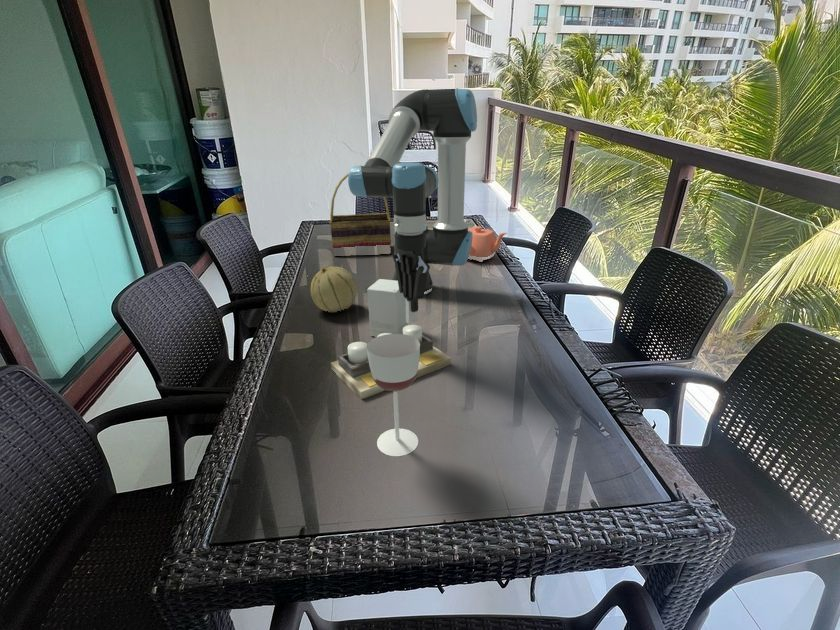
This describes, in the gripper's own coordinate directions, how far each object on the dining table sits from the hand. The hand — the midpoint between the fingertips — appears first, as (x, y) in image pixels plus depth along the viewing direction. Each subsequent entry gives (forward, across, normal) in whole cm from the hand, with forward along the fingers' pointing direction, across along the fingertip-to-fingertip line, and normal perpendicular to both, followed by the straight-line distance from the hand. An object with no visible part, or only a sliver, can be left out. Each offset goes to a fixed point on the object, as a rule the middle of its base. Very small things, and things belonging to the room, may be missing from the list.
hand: (411, 321), depth 119 cm
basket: (+9, -91, +34) cm, 98 cm away
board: (+10, +2, -8) cm, 13 cm away
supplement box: (+10, -15, +2) cm, 18 cm away
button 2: (+6, 0, -8) cm, 10 cm away
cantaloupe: (+10, -39, -4) cm, 41 cm away
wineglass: (+11, +27, -22) cm, 36 cm away
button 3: (+6, 0, 0) cm, 6 cm away
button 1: (+6, 0, -16) cm, 17 cm away
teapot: (+9, -51, +68) cm, 86 cm away
